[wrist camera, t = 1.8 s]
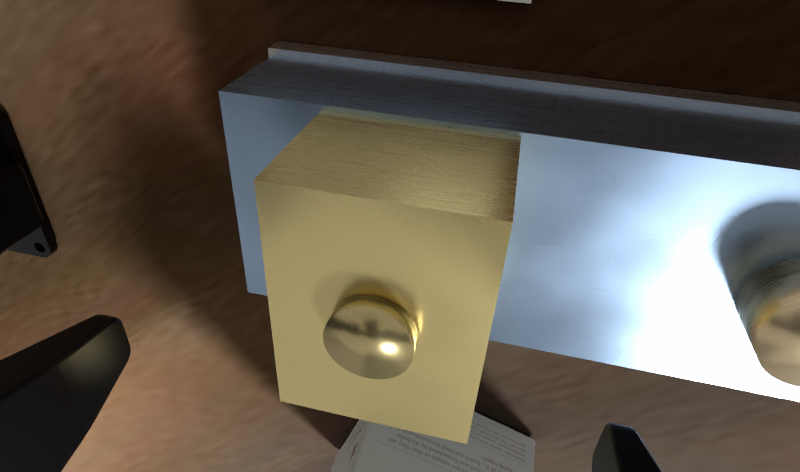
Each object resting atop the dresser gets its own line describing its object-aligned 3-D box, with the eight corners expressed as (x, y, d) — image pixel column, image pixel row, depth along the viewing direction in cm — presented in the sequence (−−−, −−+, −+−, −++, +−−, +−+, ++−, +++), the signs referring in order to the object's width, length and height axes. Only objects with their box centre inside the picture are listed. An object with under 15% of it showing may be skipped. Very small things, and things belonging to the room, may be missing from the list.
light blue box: (293, 224, 19) (217, 328, 15) (279, 40, 16) (172, 105, 11) (768, 308, 17) (847, 462, 12) (886, 112, 13) (1059, 232, 9)
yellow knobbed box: (328, 305, 16) (271, 417, 12) (321, 109, 12) (240, 193, 9) (482, 335, 15) (464, 464, 12) (520, 136, 11) (511, 238, 8)
